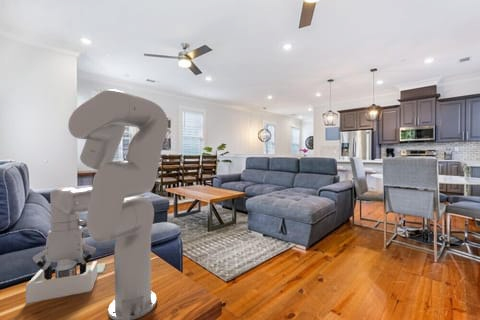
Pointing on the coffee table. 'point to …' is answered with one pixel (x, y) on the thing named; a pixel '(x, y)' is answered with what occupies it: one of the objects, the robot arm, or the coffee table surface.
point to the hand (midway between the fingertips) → (66, 277)
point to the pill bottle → (65, 268)
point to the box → (59, 285)
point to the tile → (99, 268)
